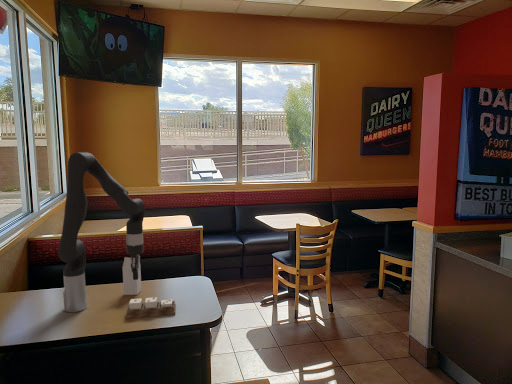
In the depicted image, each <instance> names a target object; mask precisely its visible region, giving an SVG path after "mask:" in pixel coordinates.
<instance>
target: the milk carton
mask: <svg viewBox="0 0 512 384" xmlns="http://www.w3.org/2000/svg"><path fill="white" fill-rule="evenodd" d="M130 258H131V257H124V261H123V264H122V268H121V269H122V282H123V284H122V285H123V295H125V296H134V295H135V296H137V295H139V294H140V292H141V291H142V275H141V271H142V270H141V264H140V265H139V270H138V280H133V272H132V270H131V262H130Z"/></svg>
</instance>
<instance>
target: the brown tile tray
mask: <svg viewBox="0 0 512 384" xmlns="http://www.w3.org/2000/svg"><path fill="white" fill-rule="evenodd" d="M172 304H173V306H172V307H161V301H157V308H145V302H142V307H141V309H132V310H130V309H129V304H128V305H127V308H126V313H125V319H127V320H128V319H137V318H148V317H162V316H174V315H175V316H176V311H177V304H176V300H172Z"/></svg>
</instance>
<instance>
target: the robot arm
mask: <svg viewBox="0 0 512 384" xmlns="http://www.w3.org/2000/svg"><path fill="white" fill-rule="evenodd" d="M85 173H87V174H89V175H91V176H92V177H94V178H95V179H96V180H97V182H98V183H99V185H100V187H101V188H102V190H103V191H104V193H105V194H106V195H107V196H108V197H110V198H111V199H112V200H113V201H114V202H115V203H116V204H117V205H118V207H119V208H120V210H121V211H122V212H123V213H124V214H125V215H127V216H129V219H128V220H127V221H126V226H125V228H126V237H125V242H126V243H125V245H126V249H125V250H126V254H127V255H131V256H130V257H129V258H130V262H131V270H132V272H133V280H138V270H139V265H140V266H141V261H140V260H141V256H140V255H141V254H143V253H144V247H145V246H144V230H143V221H144V219H145V212H146V208H145V207H146V206H145V203H144V201H143V200H142V199H141V198H137V197H136V198H133V199H132V198H131V197H129V191H128V190H127V189H126V188H125V187H124V186H123V185H121V183H119V182H118V181H117V180H116V179H115V178H114V177H113V176H112V175H111V174H110V173H109V172H108V171H107V170H106V168H105V167H103V165H102V164H101V163H100V162H99V160H98V159H97V158H96V156H94V155H93V154H92V153H90V152H87V151H80V152H79V151H75V152H73V153H71V154H70V156H69V157H68V161H67V185H66V187H67V188H66V197H65V205H64V216H63V223H62V231H61V236H60V240H59V243H58V244H59V245H58V250H57V253H58V254H57V255H58V258H59V259H60V260H61V261H62V262H63V263H66V264H65V267H64V268H63V270H62V274H63V276H62V277H63V287H64V291H63V292H62V295H63V307H64V308H63V310H64V312H68V313H77V312H81V311H84V310H86V309H87V307H88V304H87V303H88V302H87V301H88V300H87V290H86V272H85V269H86V266H87V256H86V255H87V253H86V251H87V250H86V247H85V244H84V243H83V241H82V240H80V239H78V237H79V236H78V235H79V232H80V229H81V228H82V226H83V223H84V221H85V219H86V216H87V210H88V209H87V208H88V197H87V193H86V191H85V188H84V179H85V178H84V177H85Z"/></svg>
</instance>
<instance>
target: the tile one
mask: <svg viewBox="0 0 512 384" xmlns="http://www.w3.org/2000/svg"><path fill="white" fill-rule="evenodd" d="M142 303H143V298H142V297H141V298H131V299H130V301H129V303H128V305H129V309H130V310H132V309H141V307H142Z"/></svg>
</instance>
